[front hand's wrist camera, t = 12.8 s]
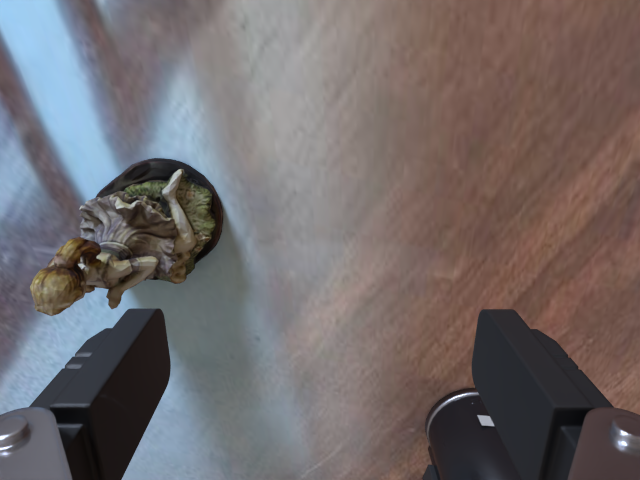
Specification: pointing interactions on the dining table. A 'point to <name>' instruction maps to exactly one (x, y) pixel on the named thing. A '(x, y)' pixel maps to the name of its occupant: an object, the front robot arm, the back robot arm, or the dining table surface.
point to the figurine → (134, 235)
